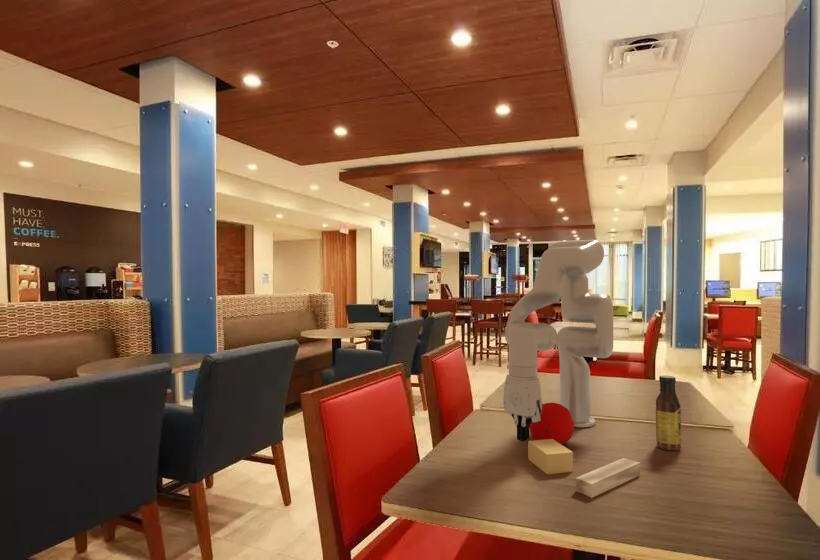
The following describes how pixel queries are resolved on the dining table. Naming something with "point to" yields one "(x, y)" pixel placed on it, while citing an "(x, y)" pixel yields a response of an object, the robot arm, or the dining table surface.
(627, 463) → the pale grey bar
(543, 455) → the block
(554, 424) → the tomato
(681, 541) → the dining table surface
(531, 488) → the dining table surface
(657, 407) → the sauce bottle
